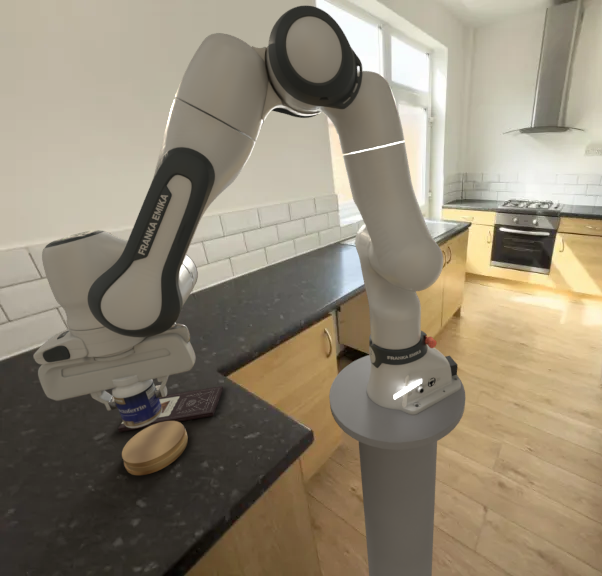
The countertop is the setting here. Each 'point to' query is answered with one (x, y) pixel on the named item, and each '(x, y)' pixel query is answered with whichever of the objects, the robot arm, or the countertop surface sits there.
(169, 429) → the coaster pile
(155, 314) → the robot arm
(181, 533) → the countertop surface
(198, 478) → the countertop surface
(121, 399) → the pill bottle
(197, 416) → the chocolate bar
